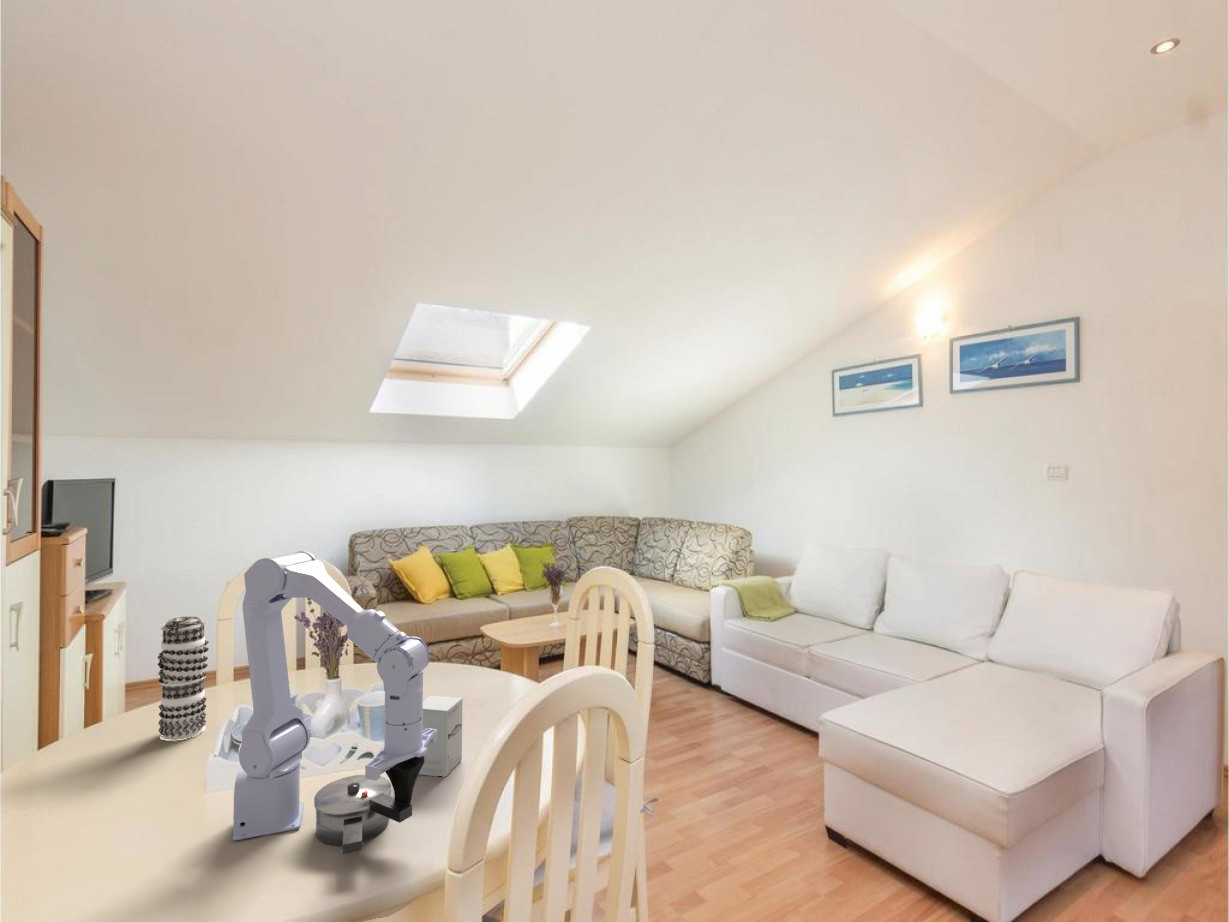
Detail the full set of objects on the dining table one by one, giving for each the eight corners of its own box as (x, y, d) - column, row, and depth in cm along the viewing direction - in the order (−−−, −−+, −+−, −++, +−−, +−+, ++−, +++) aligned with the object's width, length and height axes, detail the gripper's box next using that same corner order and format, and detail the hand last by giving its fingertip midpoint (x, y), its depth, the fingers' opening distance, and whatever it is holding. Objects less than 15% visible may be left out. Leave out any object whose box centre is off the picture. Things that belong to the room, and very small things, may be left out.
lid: (298, 802, 102) (298, 791, 102) (360, 773, 112) (361, 762, 112) (374, 838, 92) (374, 825, 92) (434, 802, 102) (434, 790, 102)
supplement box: (446, 778, 120) (446, 711, 120) (410, 774, 121) (410, 707, 121) (463, 760, 127) (463, 697, 127) (429, 756, 129) (429, 694, 129)
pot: (310, 880, 90) (310, 849, 90) (318, 815, 107) (318, 788, 107) (392, 863, 94) (392, 832, 94) (387, 803, 111) (387, 777, 111)
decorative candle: (216, 730, 141) (217, 617, 141) (168, 746, 133) (169, 626, 133) (195, 721, 146) (196, 612, 146) (149, 735, 138) (150, 620, 138)
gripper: (392, 741, 92) (391, 835, 92) (452, 705, 106) (451, 787, 106) (354, 733, 95) (353, 824, 95) (417, 699, 108) (417, 779, 108)
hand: (403, 804), depth 100 cm, fingers closed, pressing on lid
